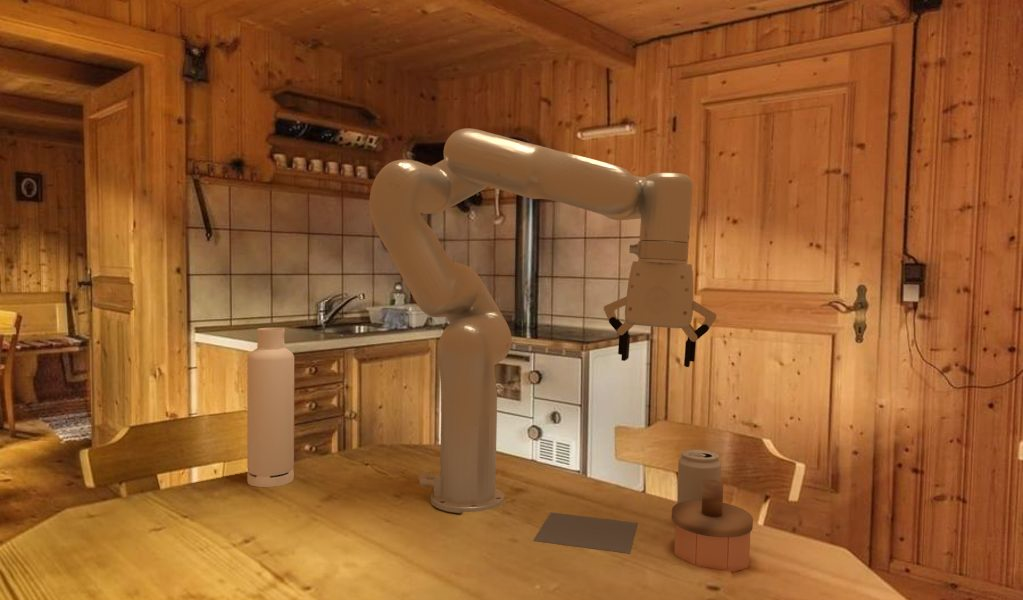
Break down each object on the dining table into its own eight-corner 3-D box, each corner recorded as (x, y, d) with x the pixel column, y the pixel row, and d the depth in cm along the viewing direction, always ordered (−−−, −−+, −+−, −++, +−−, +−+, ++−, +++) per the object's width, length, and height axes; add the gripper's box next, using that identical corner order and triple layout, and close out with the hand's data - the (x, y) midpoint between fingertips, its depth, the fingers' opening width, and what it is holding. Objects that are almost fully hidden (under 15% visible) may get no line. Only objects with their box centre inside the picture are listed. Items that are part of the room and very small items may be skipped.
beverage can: (720, 539, 105) (723, 460, 104) (676, 534, 106) (679, 457, 105) (716, 523, 111) (719, 449, 110) (675, 519, 112) (678, 446, 111)
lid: (669, 531, 94) (671, 490, 94) (673, 504, 105) (674, 468, 104) (755, 541, 91) (757, 500, 91) (750, 513, 102) (751, 475, 101)
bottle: (285, 487, 124) (285, 331, 122) (240, 486, 124) (240, 330, 122) (299, 473, 132) (300, 327, 130) (257, 472, 132) (257, 326, 130)
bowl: (673, 566, 95) (674, 530, 94) (676, 538, 104) (677, 506, 104) (750, 576, 92) (751, 539, 92) (745, 547, 102) (747, 513, 101)
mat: (533, 544, 101) (533, 540, 101) (550, 515, 113) (550, 512, 113) (629, 557, 97) (629, 553, 97) (637, 526, 109) (637, 522, 109)
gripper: (603, 250, 107) (596, 360, 108) (720, 256, 102) (712, 372, 103) (611, 251, 114) (605, 354, 115) (721, 257, 109) (713, 365, 110)
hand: (655, 362), depth 109 cm, fingers open, 9 cm apart
